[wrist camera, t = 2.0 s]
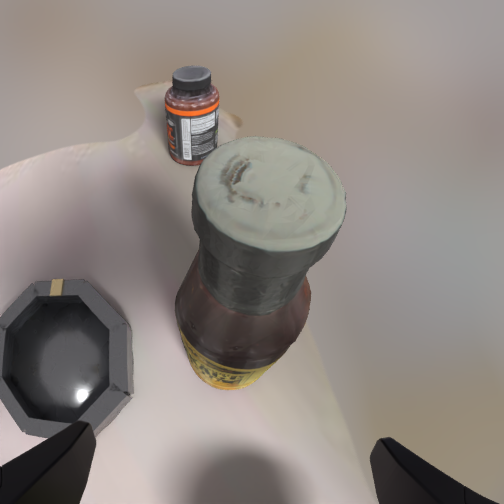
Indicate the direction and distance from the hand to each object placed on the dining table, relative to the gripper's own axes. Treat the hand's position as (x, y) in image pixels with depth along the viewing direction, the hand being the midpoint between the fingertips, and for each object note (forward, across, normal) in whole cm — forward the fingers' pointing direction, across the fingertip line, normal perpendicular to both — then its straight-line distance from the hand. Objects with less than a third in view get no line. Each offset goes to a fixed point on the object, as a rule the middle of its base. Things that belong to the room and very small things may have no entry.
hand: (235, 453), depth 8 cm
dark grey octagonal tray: (+14, +15, +8) cm, 22 cm away
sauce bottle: (+16, 0, +6) cm, 17 cm away
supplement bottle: (+33, +6, -11) cm, 35 cm away
